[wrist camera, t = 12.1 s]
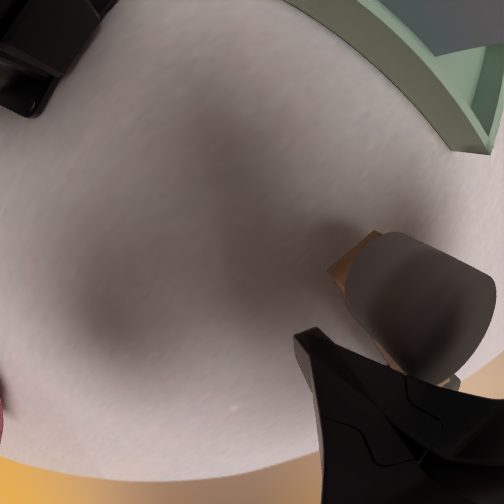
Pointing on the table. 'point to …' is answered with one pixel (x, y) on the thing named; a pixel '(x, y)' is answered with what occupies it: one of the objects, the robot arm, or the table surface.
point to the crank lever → (416, 304)
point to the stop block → (451, 22)
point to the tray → (424, 70)
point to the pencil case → (1, 420)
